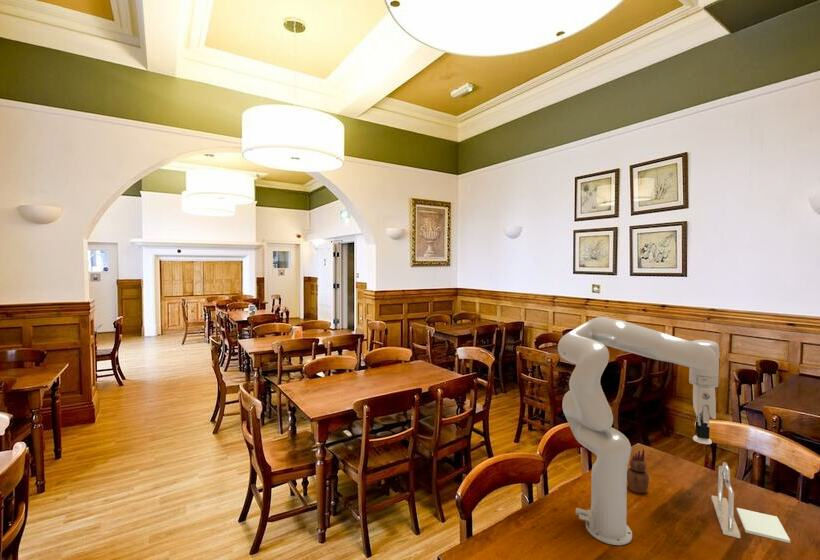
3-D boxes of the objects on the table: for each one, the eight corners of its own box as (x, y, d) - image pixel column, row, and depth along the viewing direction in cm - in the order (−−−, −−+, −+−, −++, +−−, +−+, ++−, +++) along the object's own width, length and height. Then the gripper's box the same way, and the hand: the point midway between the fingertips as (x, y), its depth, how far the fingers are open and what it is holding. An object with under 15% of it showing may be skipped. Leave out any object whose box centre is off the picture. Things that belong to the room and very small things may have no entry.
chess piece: (715, 444, 127) (715, 413, 126) (697, 443, 127) (698, 412, 127) (706, 438, 131) (707, 407, 131) (689, 436, 132) (690, 406, 132)
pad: (745, 532, 121) (745, 529, 120) (736, 510, 131) (736, 507, 131) (790, 543, 116) (790, 540, 116) (777, 519, 126) (777, 516, 126)
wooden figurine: (648, 489, 143) (649, 448, 143) (648, 497, 138) (648, 455, 138) (627, 484, 147) (627, 443, 146) (626, 491, 142) (626, 450, 141)
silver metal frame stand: (723, 534, 120) (724, 479, 119) (711, 498, 137) (712, 450, 137) (740, 538, 118) (741, 482, 117) (726, 501, 136) (727, 452, 135)
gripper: (723, 388, 120) (721, 449, 121) (713, 374, 134) (712, 428, 135) (692, 384, 123) (691, 444, 124) (686, 371, 137) (684, 424, 138)
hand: (702, 435), depth 129 cm, fingers closed on chess piece
